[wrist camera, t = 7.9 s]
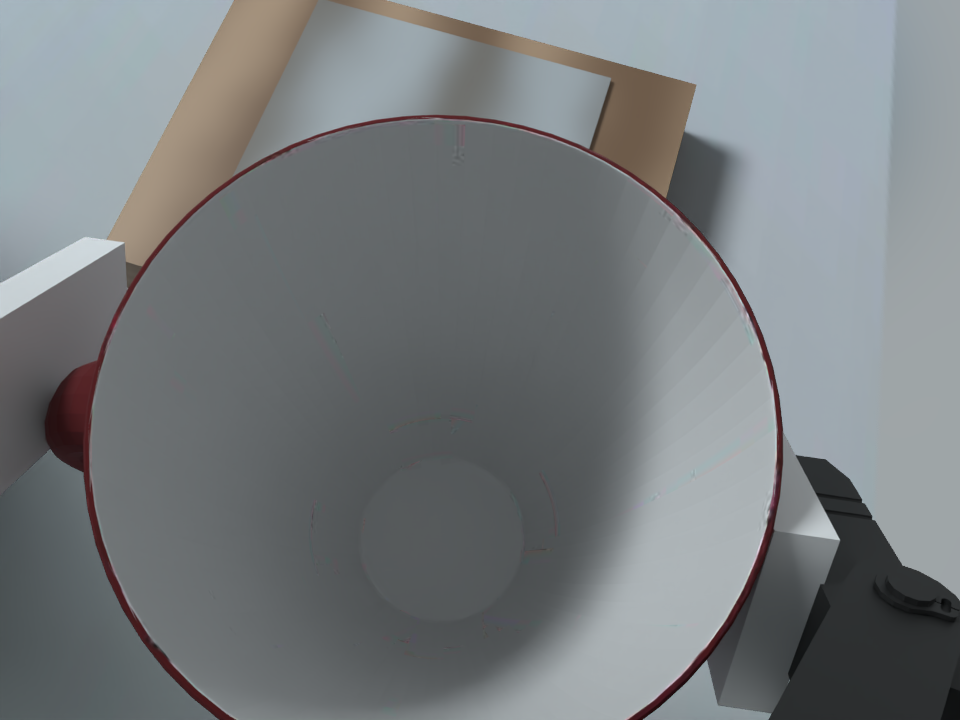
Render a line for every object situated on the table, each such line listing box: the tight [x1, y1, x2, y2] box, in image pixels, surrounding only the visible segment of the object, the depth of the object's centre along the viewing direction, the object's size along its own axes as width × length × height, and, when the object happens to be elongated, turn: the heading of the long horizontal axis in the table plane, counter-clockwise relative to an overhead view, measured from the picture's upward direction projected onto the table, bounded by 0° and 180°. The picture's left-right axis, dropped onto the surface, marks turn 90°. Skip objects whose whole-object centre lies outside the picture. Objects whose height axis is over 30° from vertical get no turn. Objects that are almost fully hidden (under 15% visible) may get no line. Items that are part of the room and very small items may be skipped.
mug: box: [45, 115, 783, 720], centre depth 14 cm, size 10×8×10 cm
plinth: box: [107, 0, 696, 288], centre depth 35 cm, size 20×15×3 cm
